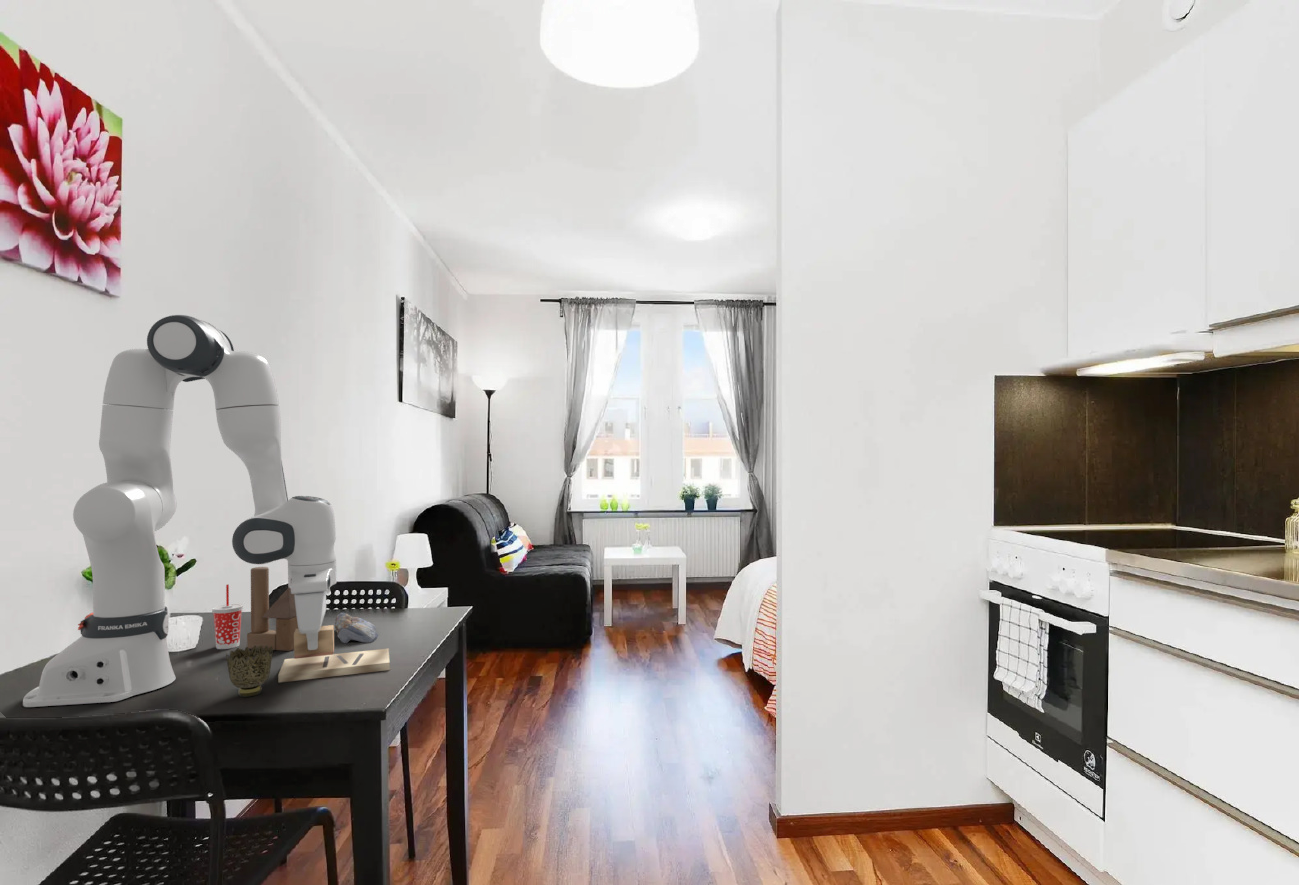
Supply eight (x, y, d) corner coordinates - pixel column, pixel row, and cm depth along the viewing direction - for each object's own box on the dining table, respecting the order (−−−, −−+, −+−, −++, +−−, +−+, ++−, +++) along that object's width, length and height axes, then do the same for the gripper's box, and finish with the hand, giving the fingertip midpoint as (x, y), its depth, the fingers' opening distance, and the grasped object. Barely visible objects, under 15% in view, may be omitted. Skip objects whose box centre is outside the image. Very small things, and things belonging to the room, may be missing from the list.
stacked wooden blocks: (289, 651, 160) (289, 569, 160) (246, 649, 162) (245, 569, 162) (300, 646, 163) (300, 567, 163) (258, 645, 165) (257, 566, 165)
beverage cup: (220, 651, 160) (220, 588, 160) (206, 647, 164) (206, 585, 164) (248, 645, 165) (248, 583, 165) (234, 641, 169) (234, 581, 169)
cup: (239, 688, 135) (238, 645, 135) (280, 686, 136) (279, 644, 136) (218, 702, 128) (217, 656, 128) (261, 700, 128) (261, 655, 128)
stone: (382, 632, 168) (337, 622, 164) (375, 652, 167) (330, 643, 163) (378, 615, 183) (337, 606, 180) (372, 634, 183) (331, 625, 179)
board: (278, 682, 138) (278, 674, 138) (285, 666, 148) (285, 659, 148) (389, 669, 145) (389, 662, 145) (388, 655, 156) (388, 648, 156)
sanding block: (294, 658, 142) (293, 633, 142) (296, 653, 146) (295, 628, 146) (333, 654, 145) (332, 629, 145) (334, 649, 149) (333, 624, 149)
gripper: (300, 570, 154) (301, 635, 154) (289, 586, 135) (291, 661, 135) (332, 567, 156) (333, 631, 156) (326, 583, 137) (328, 656, 137)
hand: (314, 645), depth 145 cm, fingers closed on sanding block, 4 cm apart
